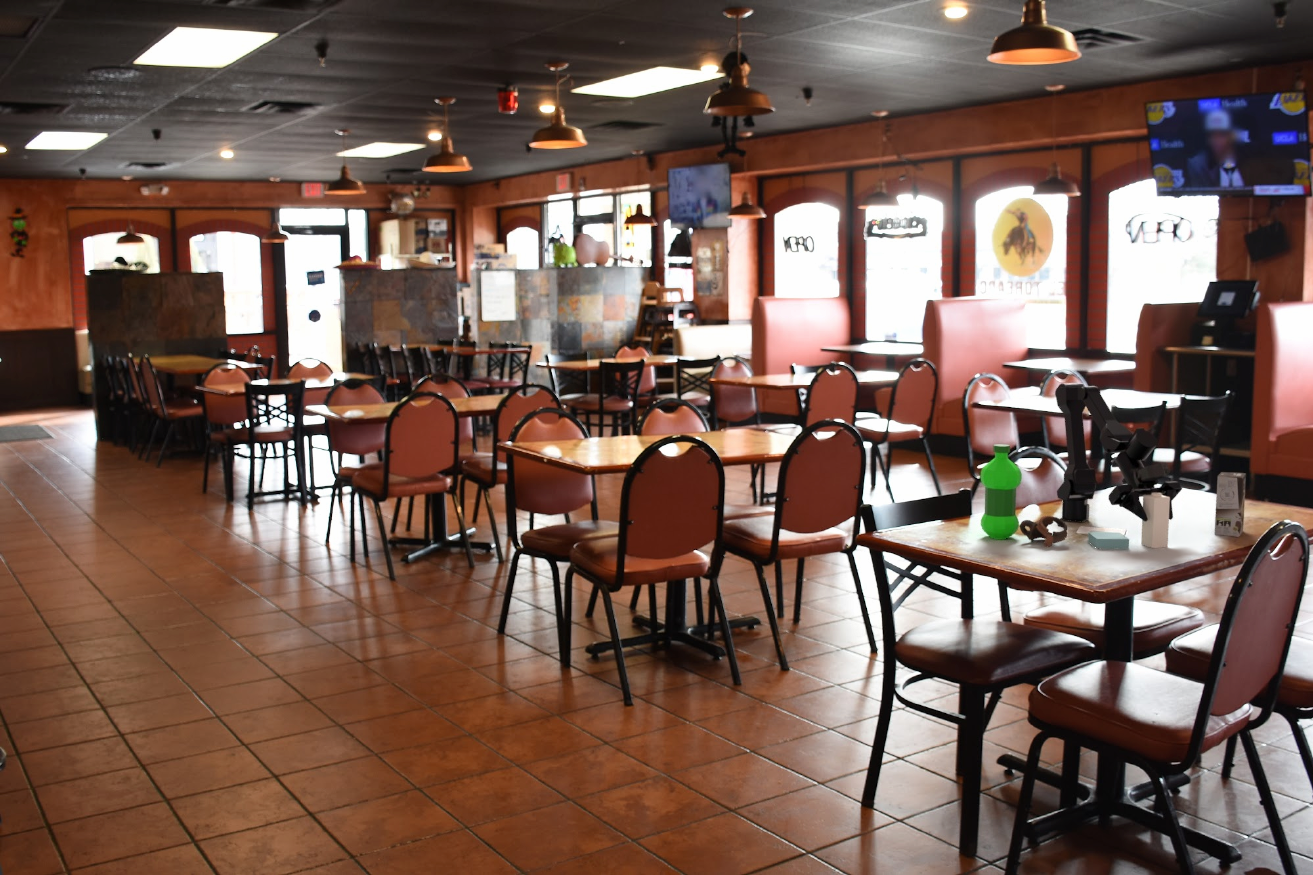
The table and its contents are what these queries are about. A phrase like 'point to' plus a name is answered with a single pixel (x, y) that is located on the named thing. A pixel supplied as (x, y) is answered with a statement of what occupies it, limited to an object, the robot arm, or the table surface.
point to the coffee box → (1230, 504)
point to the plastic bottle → (1000, 494)
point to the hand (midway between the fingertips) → (1159, 519)
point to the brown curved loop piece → (1044, 530)
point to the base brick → (1108, 540)
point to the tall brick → (1155, 520)
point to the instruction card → (1099, 530)
